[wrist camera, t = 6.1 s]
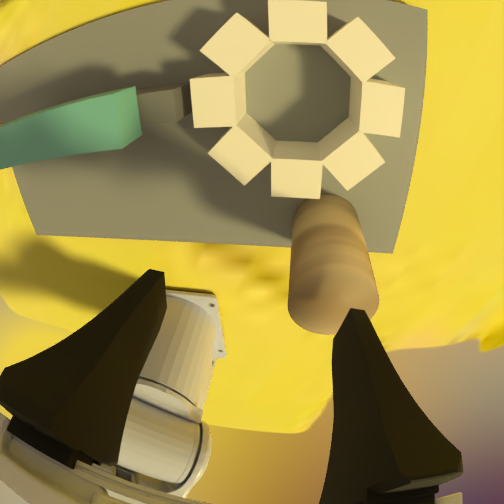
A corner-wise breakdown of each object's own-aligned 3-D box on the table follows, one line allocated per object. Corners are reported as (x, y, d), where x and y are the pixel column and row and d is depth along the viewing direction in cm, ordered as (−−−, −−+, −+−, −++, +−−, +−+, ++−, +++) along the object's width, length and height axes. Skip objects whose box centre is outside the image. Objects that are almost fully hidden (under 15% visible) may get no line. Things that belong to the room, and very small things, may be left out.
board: (388, 243, 20) (403, 285, 17) (43, 227, 24) (17, 255, 21) (419, 11, 11) (453, 4, 7) (2, 68, 14) (-37, 82, 11)
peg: (352, 252, 20) (367, 335, 14) (291, 248, 20) (285, 332, 15) (362, 196, 17) (389, 273, 12) (293, 191, 18) (290, 268, 12)
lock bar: (142, 135, 13) (121, 150, 12) (3, 160, 15) (-18, 174, 13) (135, 85, 12) (112, 92, 10) (-6, 127, 13) (-28, 139, 12)
